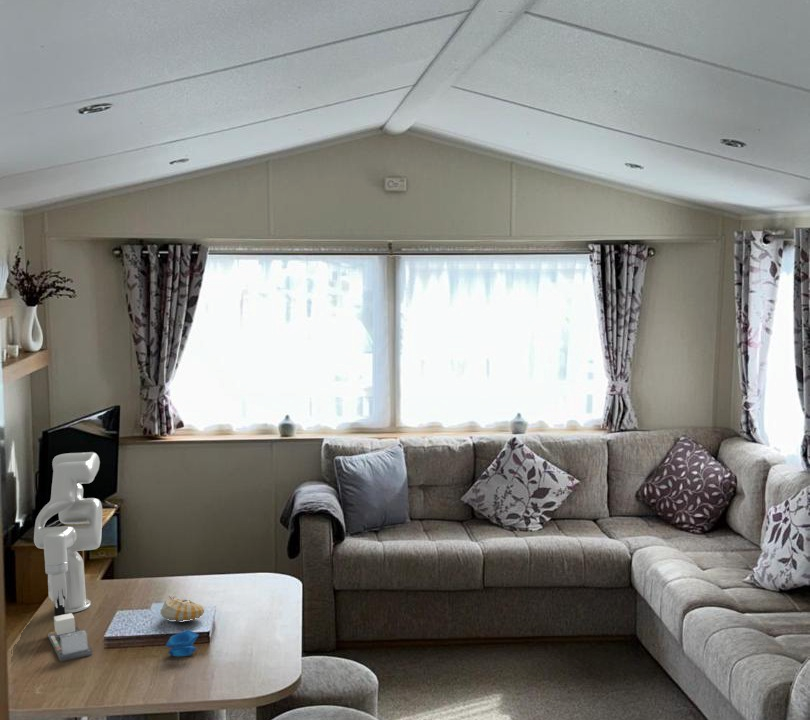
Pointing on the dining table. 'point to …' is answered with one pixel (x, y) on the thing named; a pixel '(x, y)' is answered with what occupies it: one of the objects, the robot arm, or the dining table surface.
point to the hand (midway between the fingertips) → (60, 617)
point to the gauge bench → (71, 656)
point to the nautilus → (181, 610)
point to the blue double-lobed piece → (182, 643)
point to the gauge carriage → (64, 624)
